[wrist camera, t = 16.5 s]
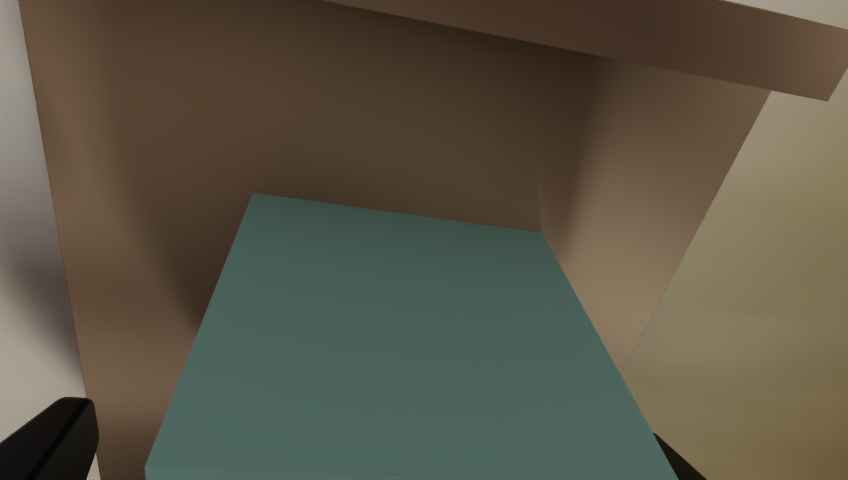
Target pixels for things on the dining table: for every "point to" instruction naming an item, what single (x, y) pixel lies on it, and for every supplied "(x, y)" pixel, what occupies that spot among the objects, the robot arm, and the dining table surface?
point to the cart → (384, 145)
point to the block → (397, 359)
